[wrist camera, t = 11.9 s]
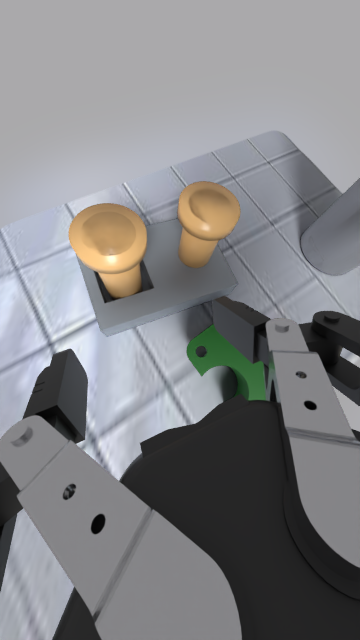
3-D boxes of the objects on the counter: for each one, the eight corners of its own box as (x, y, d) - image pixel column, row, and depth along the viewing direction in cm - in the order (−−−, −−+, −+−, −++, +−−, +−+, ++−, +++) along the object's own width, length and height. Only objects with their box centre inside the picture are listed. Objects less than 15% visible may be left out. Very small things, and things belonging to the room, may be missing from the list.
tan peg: (140, 265, 25) (132, 197, 16) (155, 303, 24) (157, 254, 15) (96, 277, 24) (60, 211, 15) (110, 318, 23) (80, 274, 13)
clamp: (192, 359, 28) (171, 335, 20) (226, 334, 28) (218, 300, 20) (253, 445, 21) (258, 457, 13) (296, 411, 21) (324, 405, 14)
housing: (196, 229, 29) (218, 155, 19) (228, 294, 26) (272, 246, 17) (81, 258, 25) (37, 183, 15) (107, 336, 22) (73, 305, 13)
